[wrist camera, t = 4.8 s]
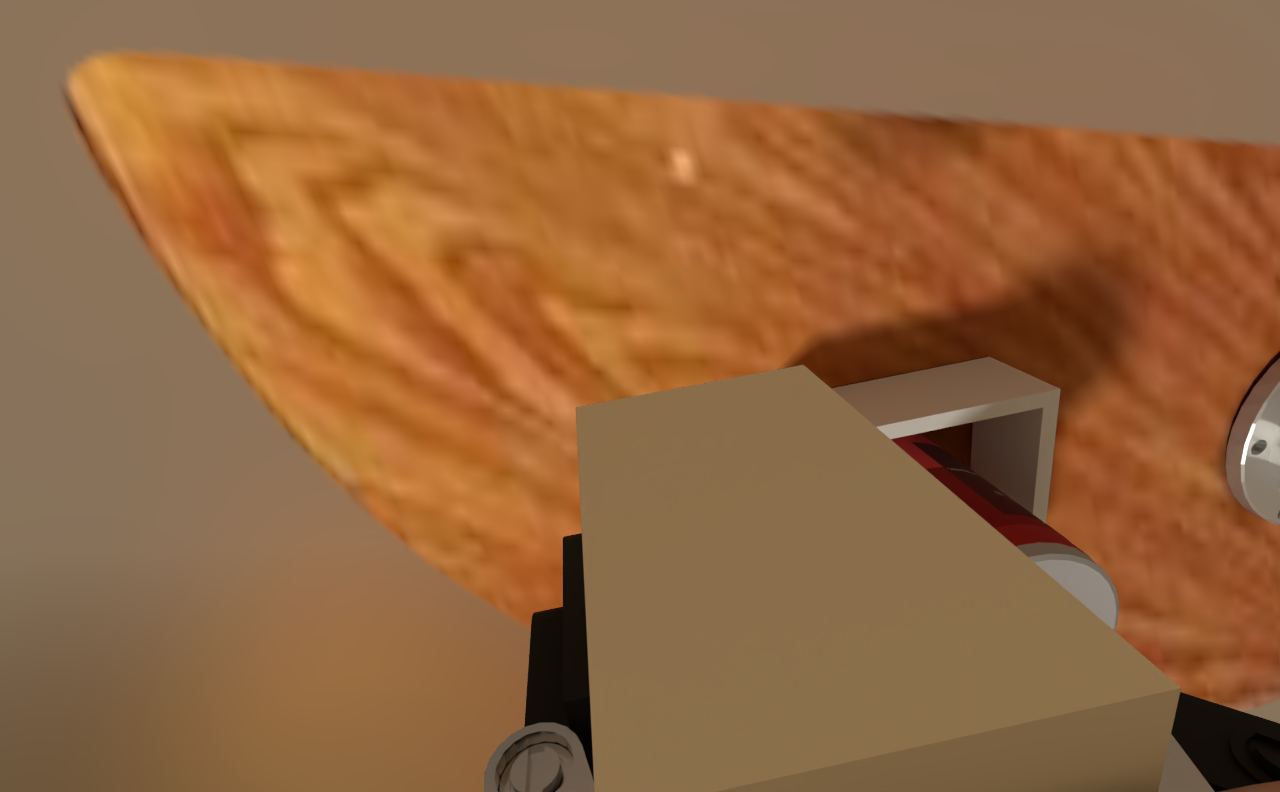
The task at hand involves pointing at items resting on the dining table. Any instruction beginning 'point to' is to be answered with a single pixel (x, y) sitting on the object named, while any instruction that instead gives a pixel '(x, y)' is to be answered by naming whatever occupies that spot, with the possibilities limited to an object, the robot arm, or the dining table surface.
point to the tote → (974, 419)
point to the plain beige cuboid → (830, 615)
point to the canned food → (1020, 528)
